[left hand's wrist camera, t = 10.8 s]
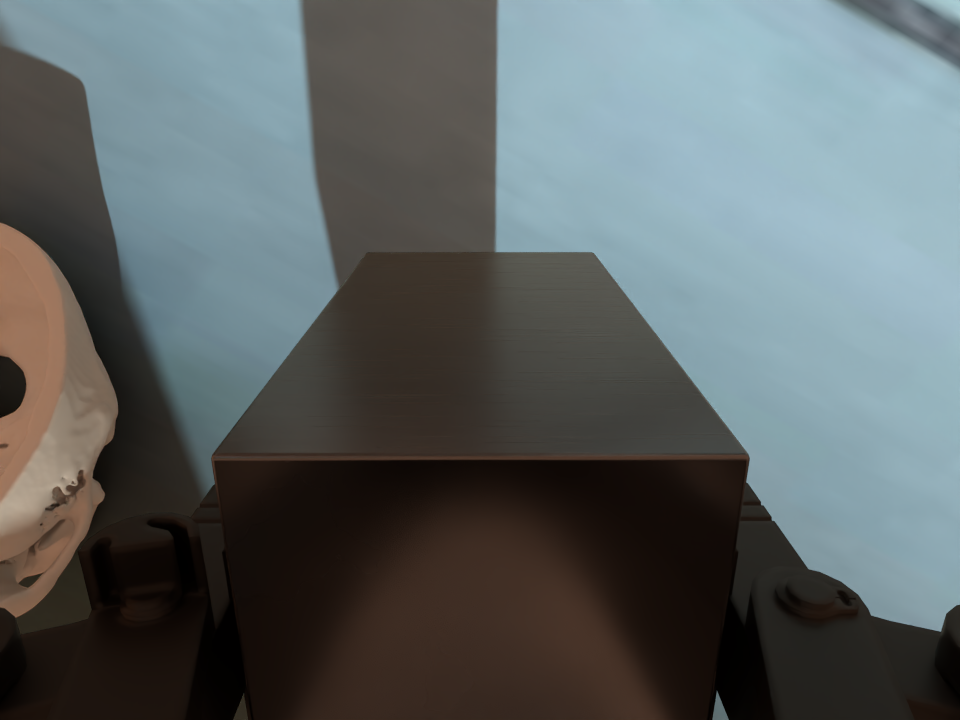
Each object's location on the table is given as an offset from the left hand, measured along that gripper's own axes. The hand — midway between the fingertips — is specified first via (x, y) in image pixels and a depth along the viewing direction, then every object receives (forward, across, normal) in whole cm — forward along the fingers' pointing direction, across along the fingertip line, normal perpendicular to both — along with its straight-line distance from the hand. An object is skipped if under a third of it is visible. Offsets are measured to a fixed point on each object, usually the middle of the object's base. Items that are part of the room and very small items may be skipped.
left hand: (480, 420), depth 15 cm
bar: (+1, 0, -9) cm, 9 cm away
